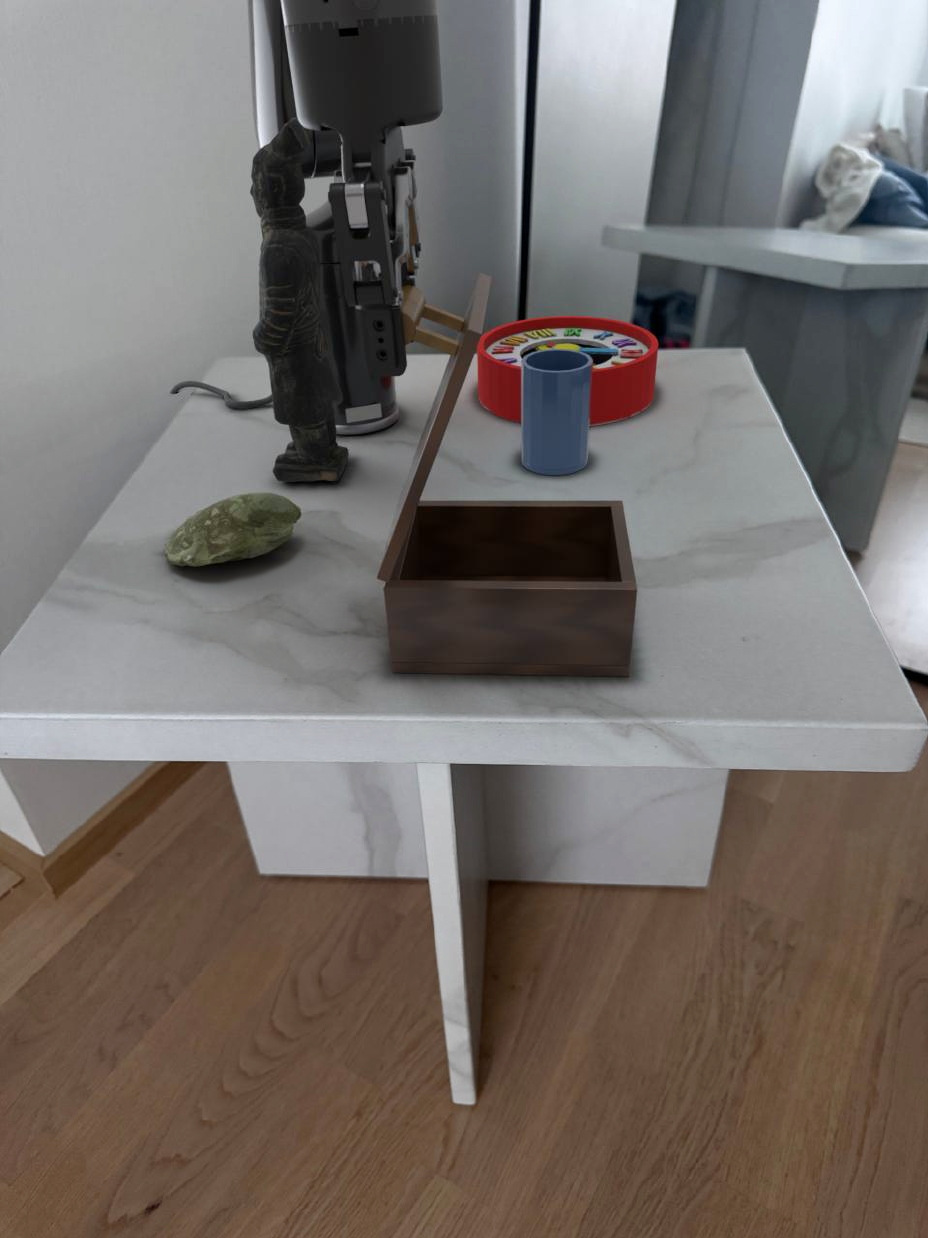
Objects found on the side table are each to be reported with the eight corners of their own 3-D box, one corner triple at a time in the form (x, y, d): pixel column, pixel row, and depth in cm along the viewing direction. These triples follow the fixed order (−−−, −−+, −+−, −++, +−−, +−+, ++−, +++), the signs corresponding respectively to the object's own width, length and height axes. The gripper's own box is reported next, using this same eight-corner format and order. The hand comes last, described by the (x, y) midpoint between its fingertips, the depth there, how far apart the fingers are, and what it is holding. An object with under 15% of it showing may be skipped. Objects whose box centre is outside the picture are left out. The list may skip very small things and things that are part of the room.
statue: (292, 451, 89) (237, 114, 71) (357, 450, 88) (318, 111, 71) (268, 495, 80) (200, 128, 63) (340, 495, 80) (291, 124, 63)
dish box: (616, 580, 66) (622, 500, 63) (629, 676, 57) (637, 589, 53) (413, 578, 68) (406, 500, 64) (392, 673, 58) (383, 587, 54)
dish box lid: (492, 276, 54) (412, 244, 53) (481, 334, 45) (384, 296, 44) (411, 496, 64) (342, 471, 63) (388, 583, 54) (306, 555, 53)
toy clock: (493, 314, 106) (660, 317, 102) (494, 361, 109) (655, 366, 105) (460, 369, 90) (656, 376, 86) (462, 423, 93) (651, 431, 89)
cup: (508, 465, 84) (508, 363, 78) (545, 442, 88) (547, 344, 82) (564, 481, 81) (567, 376, 75) (599, 457, 85) (605, 356, 79)
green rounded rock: (162, 510, 75) (227, 429, 71) (235, 545, 79) (300, 471, 75) (161, 590, 68) (232, 506, 64) (241, 624, 73) (313, 547, 68)
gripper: (316, 18, 48) (354, 325, 58) (244, 17, 36) (307, 402, 46) (449, 9, 48) (466, 320, 57) (420, 4, 36) (447, 398, 45)
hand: (395, 355), depth 52 cm, fingers closed on dish box lid, 5 cm apart
